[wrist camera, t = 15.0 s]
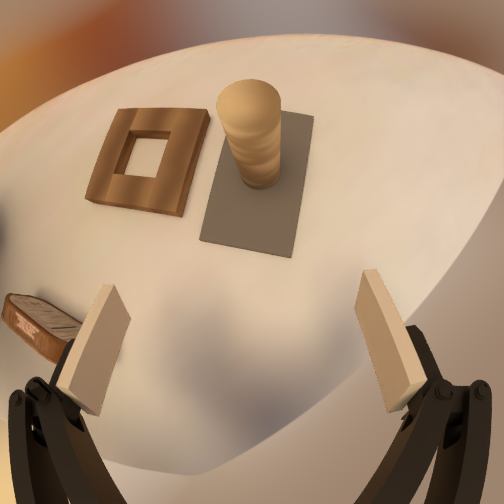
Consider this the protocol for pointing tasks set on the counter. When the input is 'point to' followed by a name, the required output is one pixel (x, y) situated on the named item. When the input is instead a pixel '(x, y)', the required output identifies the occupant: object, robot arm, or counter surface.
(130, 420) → the counter surface
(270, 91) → the peg
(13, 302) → the tin
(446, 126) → the counter surface
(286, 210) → the mat
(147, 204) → the slot block
